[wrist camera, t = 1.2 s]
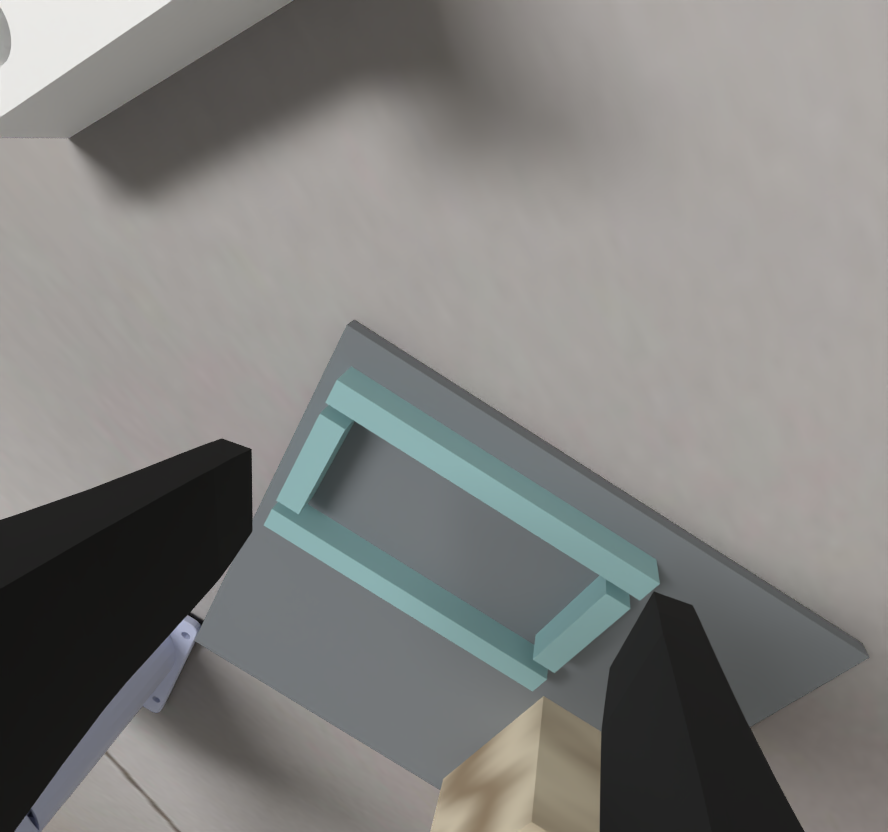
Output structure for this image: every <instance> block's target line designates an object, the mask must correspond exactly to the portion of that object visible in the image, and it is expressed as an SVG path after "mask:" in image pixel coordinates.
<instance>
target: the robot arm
mask: <svg viewBox="0 0 888 832" xmlns="http://www.w3.org/2000/svg"><path fill="white" fill-rule="evenodd" d="M252 531H253V526H252V453H251V449H250V448H247V447H244V446H241V445H239V444H236V443H233V442H230V441H227V440H224V439H219V440H216V441H214V442H211V443H208V444H205V445H202V446H200V447H197V448H194V449H192V450H189V451H187V452H184V453H181V454H179V455H176V456H174V457H171V458H169V459H166V460H164V461H161V462H159V463H156V464H154V465H151V466H149V467H146V468H144V469H141V470H138V471H136V472H133V473H131V474H128V475H125V476H123V477H120V478H118V479H115V480H112V481H110V482H107V483H105V484H102V485H99V486H97V487H94V488H92V489H89V490H86V491H83V492H80V493H78V494H75V495H72V496H69V497H66V498H63V499H60V500H57V501H55V502H52V503H49V504H46V505H43V506H40V507H37V508H34V509H32V510H29V511H26V512H23V513H20V514H17V515H14V516H11V517H8V518H5V519H2V520H0V832H41V831H42V830H43V829H44V827H45V826H46V825H47V824H48V822H49V821H50V820H51V819H52V817H53V816H54V815H55V814H56V812H57V811H58V810H59V809H60V807H61V806H62V805H63V804H64V803H65V802H66V801H67V799H68V798H69V797H70V796H71V794H72V793H73V792H74V791H75V790H76V788H77V787H78V786H79V785H80V783H81V782H82V781H83V780H84V778H85V777H86V776H87V775H88V773H89V772H90V771H91V770H92V768H93V767H94V766H95V765H96V763H97V762H98V761H99V760H100V758H101V757H102V756H103V755H104V753H105V752H106V751H107V750H108V748H109V747H110V746H111V745H112V743H113V742H114V741H115V740H116V738H117V737H118V736H119V735H120V734H121V732H122V731H123V730H124V729H125V727H126V726H127V725H128V724H129V722H130V721H131V720H132V719H133V717H134V716H135V715H136V714H137V712H138V711H139V710H140V709H141V707H142V706H143V707H145V708H146V709H148V710H150V711H152V712H154V713H158V712H160V711H161V710H162V708H163V707H164V705H165V703H166V701H167V699H168V697H169V695H170V693H171V691H172V689H173V687H174V685H175V683H176V681H177V679H178V676H179V674H180V672H181V670H182V668H183V666H184V664H185V662H186V660H187V658H188V656H189V654H190V652H191V650H192V648H193V646H194V644H195V641H194V640H195V638H196V636H197V634H198V632H199V630H200V628H201V625H200V624H199V622H198V621H196V620H195V619H193V618H192V617H190V616H189V615H188V614H189V613H190V612H191V611H192V609H193V608H194V607H195V606H196V605H197V604H198V603H199V602H200V600H201V599H202V598H203V597H204V596H205V595H206V594H207V593H208V591H209V590H210V589H211V588H212V587H213V586H214V585H215V583H216V582H217V581H218V580H219V579H220V578H221V576H222V575H223V573H224V572H225V571H226V569H227V568H228V566H229V565H230V564H231V562H232V561H233V560H234V558H235V557H236V555H237V554H238V552H239V551H240V549H241V548H242V546H243V545H244V543H245V542H246V540H247V539H248V537H249V536H250V534H251V533H252ZM600 832H804V830H803V828H802V826H801V825H800V823H799V821H798V819H797V817H796V815H795V814H794V812H793V810H792V808H791V806H790V805H789V803H788V801H787V799H786V797H785V795H784V793H783V791H782V789H781V788H780V786H779V784H778V782H777V780H776V778H775V776H774V774H773V772H772V770H771V768H770V766H769V764H768V762H767V760H766V758H765V756H764V754H763V752H762V750H761V748H760V746H759V745H758V743H757V741H756V739H755V737H754V735H753V733H752V731H751V729H750V727H749V725H748V723H747V721H746V719H745V716H744V714H743V712H742V710H741V708H740V706H739V704H738V702H737V700H736V698H735V696H734V693H733V691H732V689H731V687H730V685H729V683H728V680H727V678H726V676H725V674H724V672H723V670H722V668H721V665H720V663H719V661H718V659H717V657H716V654H715V652H714V650H713V648H712V646H711V643H710V641H709V639H708V637H707V635H706V632H705V630H704V628H703V626H702V623H701V621H700V619H699V617H698V615H697V613H696V611H695V609H694V607H693V605H691V604H688V603H685V602H682V601H680V600H677V599H674V598H671V597H668V596H665V595H663V594H660V593H657V592H654V591H653V593H652V595H651V597H650V598H649V600H648V602H647V604H646V605H645V607H644V609H643V611H642V612H641V614H640V616H639V617H638V619H637V621H636V623H635V624H634V626H633V628H632V630H631V631H630V633H629V635H628V637H627V638H626V640H625V642H624V644H623V645H622V647H621V649H620V651H619V652H618V654H617V656H616V658H615V659H614V661H613V663H612V664H611V666H610V669H609V676H608V683H607V691H606V698H605V705H604V713H603V722H602V730H601V769H600Z"/></svg>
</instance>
